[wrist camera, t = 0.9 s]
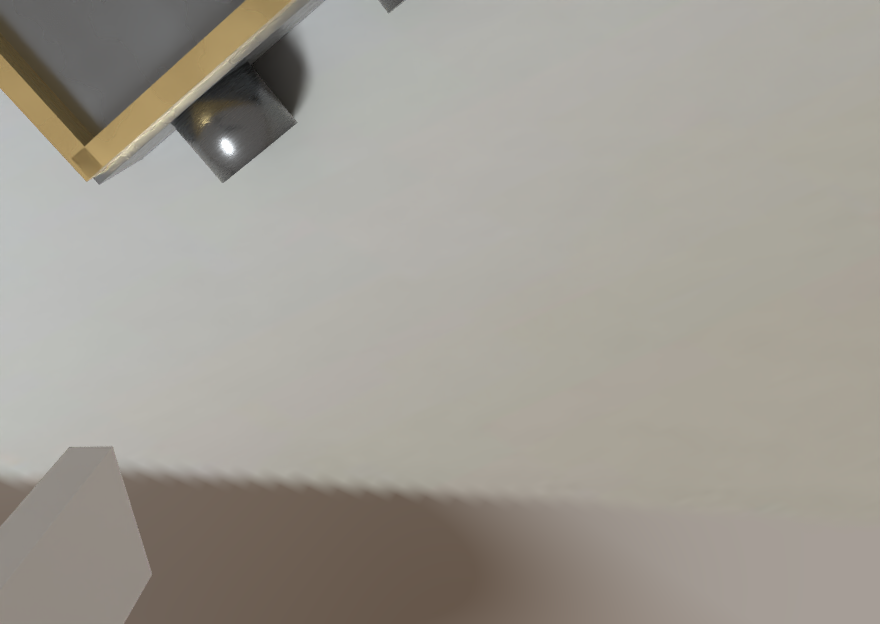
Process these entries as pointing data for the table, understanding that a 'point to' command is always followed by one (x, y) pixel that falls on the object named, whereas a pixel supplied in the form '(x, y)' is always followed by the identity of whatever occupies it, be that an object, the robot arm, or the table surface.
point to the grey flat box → (147, 76)
